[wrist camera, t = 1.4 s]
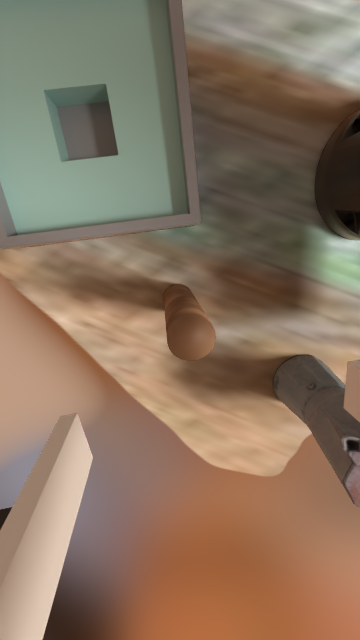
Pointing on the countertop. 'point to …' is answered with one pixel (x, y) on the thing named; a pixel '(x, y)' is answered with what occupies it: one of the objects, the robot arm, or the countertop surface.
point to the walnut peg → (187, 324)
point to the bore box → (94, 121)
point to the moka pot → (323, 415)
